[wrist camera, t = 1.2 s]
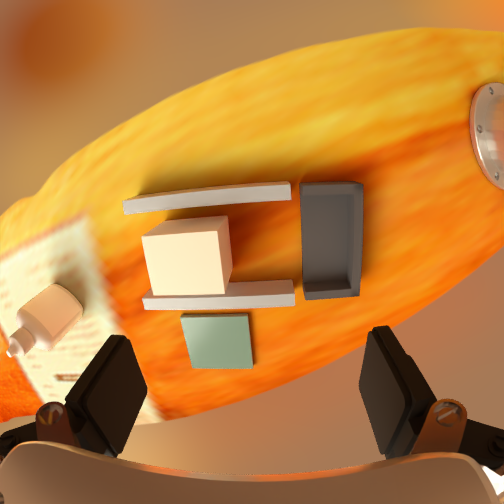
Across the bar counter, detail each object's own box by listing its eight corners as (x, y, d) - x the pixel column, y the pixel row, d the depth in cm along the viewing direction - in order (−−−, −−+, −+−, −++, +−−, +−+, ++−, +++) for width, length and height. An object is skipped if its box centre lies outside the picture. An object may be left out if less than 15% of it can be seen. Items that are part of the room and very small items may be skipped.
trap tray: (354, 181, 24) (363, 184, 22) (352, 284, 27) (359, 296, 25) (299, 182, 24) (302, 185, 22) (302, 288, 28) (305, 300, 25)
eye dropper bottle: (65, 275, 29) (-1, 325, 18) (89, 314, 30) (34, 374, 19) (47, 286, 30) (-13, 334, 18) (69, 323, 31) (17, 378, 20)
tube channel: (287, 181, 24) (290, 184, 22) (292, 290, 28) (294, 305, 25) (136, 195, 25) (122, 201, 23) (155, 295, 29) (144, 309, 26)
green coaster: (248, 313, 29) (247, 316, 28) (253, 365, 31) (253, 368, 30) (181, 314, 29) (180, 317, 29) (193, 364, 32) (192, 368, 31)
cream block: (227, 215, 26) (217, 230, 21) (233, 267, 27) (224, 293, 22) (164, 220, 26) (141, 236, 21) (173, 270, 28) (153, 295, 23)
